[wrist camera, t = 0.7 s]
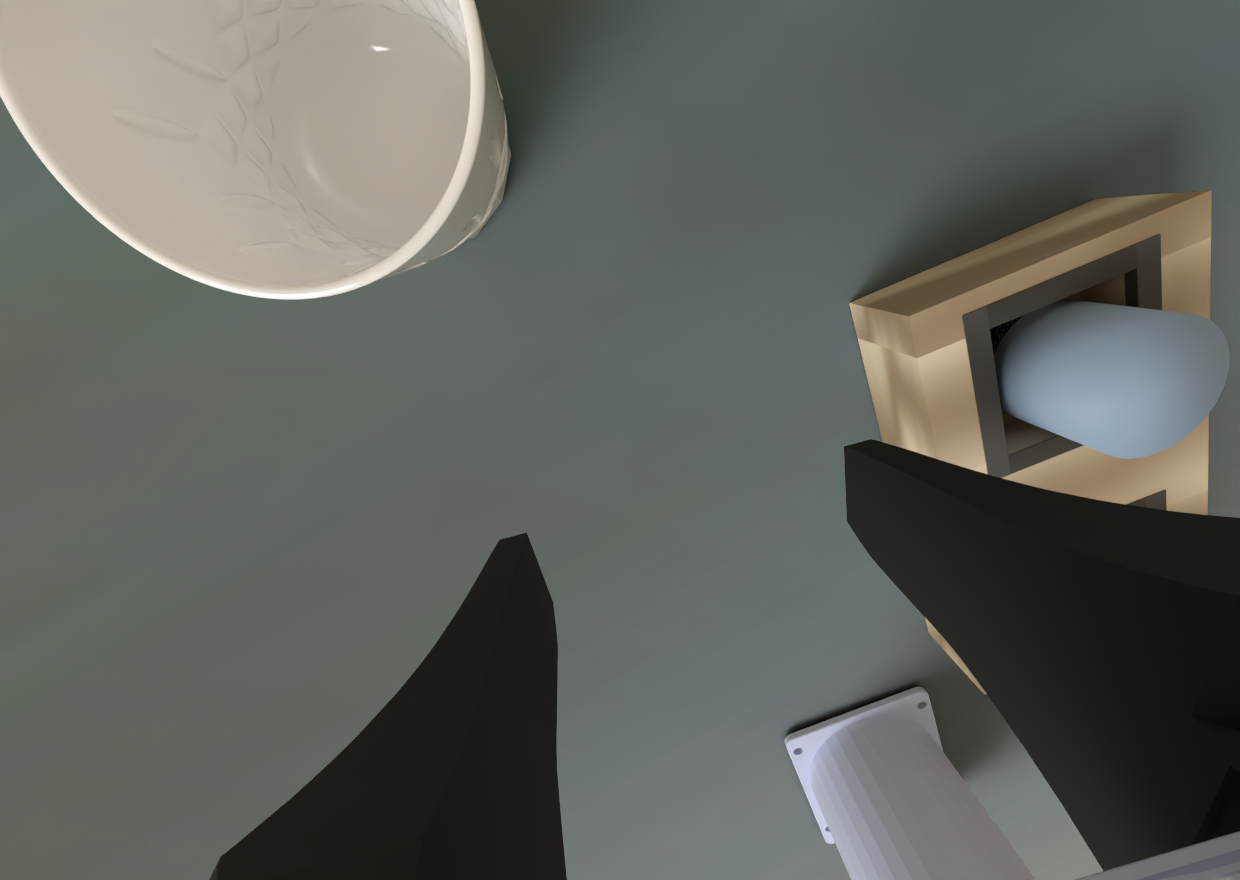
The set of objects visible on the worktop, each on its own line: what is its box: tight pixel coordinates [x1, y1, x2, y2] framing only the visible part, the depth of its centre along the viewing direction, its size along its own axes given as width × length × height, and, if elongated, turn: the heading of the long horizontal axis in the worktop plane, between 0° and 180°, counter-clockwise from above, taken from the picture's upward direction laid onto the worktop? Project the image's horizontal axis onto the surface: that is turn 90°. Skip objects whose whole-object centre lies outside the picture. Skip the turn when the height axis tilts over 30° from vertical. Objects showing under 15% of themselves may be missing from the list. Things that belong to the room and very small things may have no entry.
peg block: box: [849, 190, 1212, 695], centre depth 22 cm, size 18×10×4 cm, turn 22°
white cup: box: [0, 0, 511, 299], centre depth 13 cm, size 8×8×10 cm
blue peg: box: [994, 299, 1230, 459], centre depth 18 cm, size 4×4×4 cm
